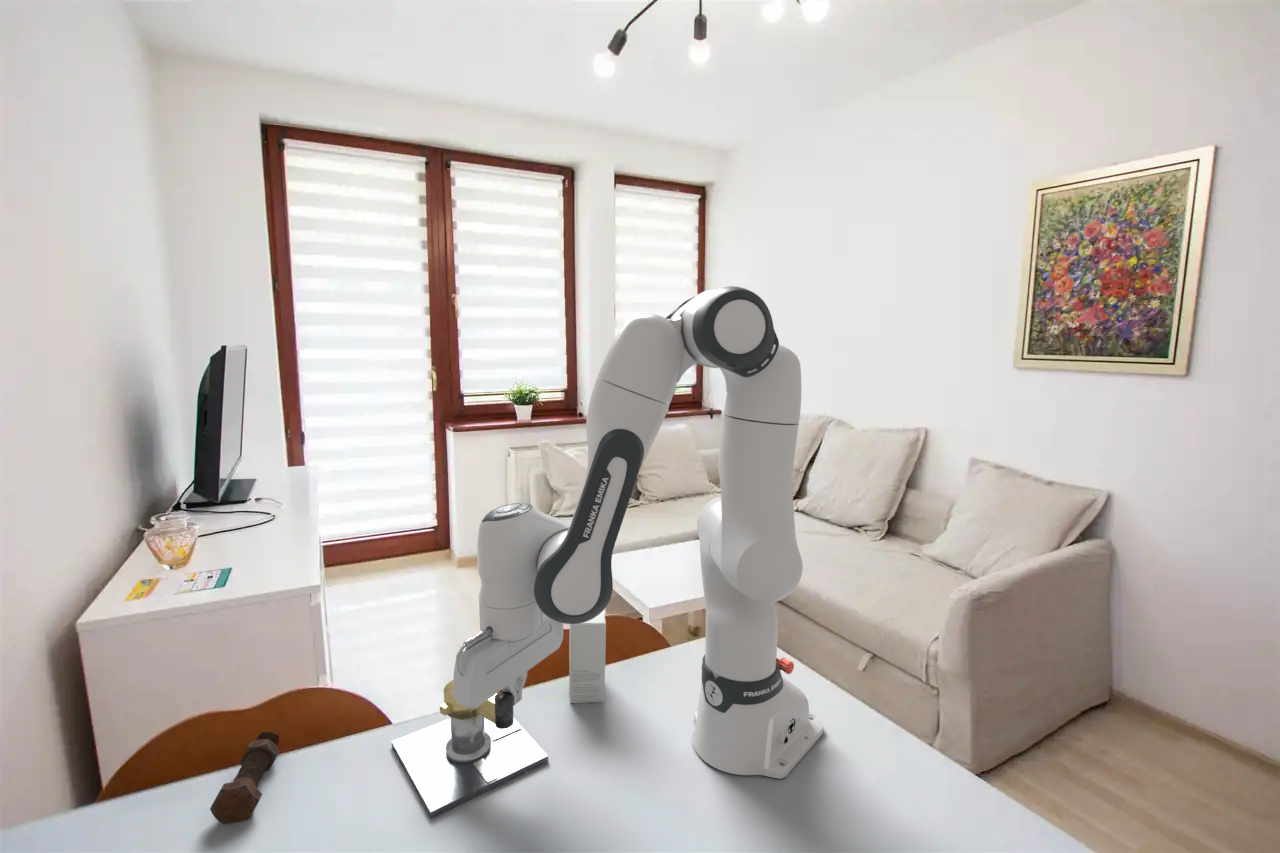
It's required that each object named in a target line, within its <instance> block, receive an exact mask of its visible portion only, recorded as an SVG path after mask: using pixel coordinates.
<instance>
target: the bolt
mask: <svg viewBox="0 0 1280 853" xmlns="http://www.w3.org/2000/svg"><path fill="white" fill-rule="evenodd" d="M255 739H256V740H253V741H250V742H249V744H248V745H247V747H246V749H245V750H244V753H243V755H242V756H241V758H240V760H239V765H240V768H239V770H238V772H237V774H236V776H235V778H234V779H233V780H232V782H225V783H223V785H222V786H221V788H220V790H219V792H218V793H217V794H216V797H215V799H214V801H213V802H212V804H211V806H210V808H209V810H210V812H211V814H212V816H213V817H214V818H215V819H216V820H217V821H218V822H219V823H221V824H226V825H228V824H229V825H231V824H235V823H240V822H244V821H247V820H248V819H250V818H251V817H252V815H253V813H254V811H255V809H256V808H257V806H258V804H259V802H260V800H261V798H262V795H263V793H262V792H261V791H260V790H259V789H258V786H259V785H260V782H261V780H262V778H263V776H264V774H265V772H268V771H269V770H270V769H271V768H272V766H273V764H274V762H275V760H276V759H277V758H278V755H279V753H280V749H279V748H278V745H279V742H280V736H279V734H278V733H277V732H276V733H275V732H272V731H262V732H260V733H259V734H258V735H257V737H256V738H255Z"/></svg>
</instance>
